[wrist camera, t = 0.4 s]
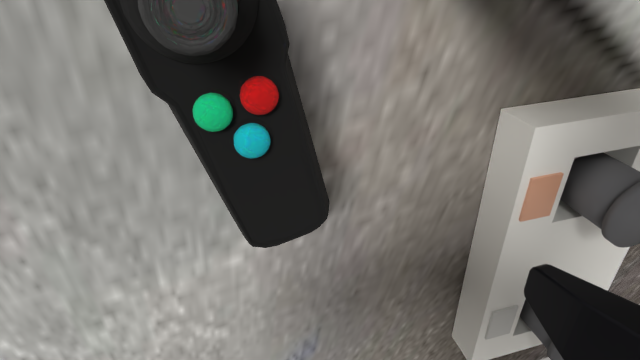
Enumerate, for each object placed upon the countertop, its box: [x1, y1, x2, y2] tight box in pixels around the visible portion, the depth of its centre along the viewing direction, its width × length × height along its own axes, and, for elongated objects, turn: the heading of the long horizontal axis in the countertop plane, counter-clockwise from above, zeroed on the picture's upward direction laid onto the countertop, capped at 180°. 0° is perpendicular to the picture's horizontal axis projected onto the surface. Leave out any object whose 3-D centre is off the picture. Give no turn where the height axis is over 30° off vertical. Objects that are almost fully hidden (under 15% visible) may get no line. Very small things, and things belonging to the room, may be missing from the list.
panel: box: [452, 88, 640, 360], centre depth 30 cm, size 22×12×3 cm, turn 2°
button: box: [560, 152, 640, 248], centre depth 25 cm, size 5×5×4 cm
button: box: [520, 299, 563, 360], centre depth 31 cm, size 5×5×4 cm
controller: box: [104, 0, 329, 248], centre depth 14 cm, size 4×12×10 cm, turn 15°
